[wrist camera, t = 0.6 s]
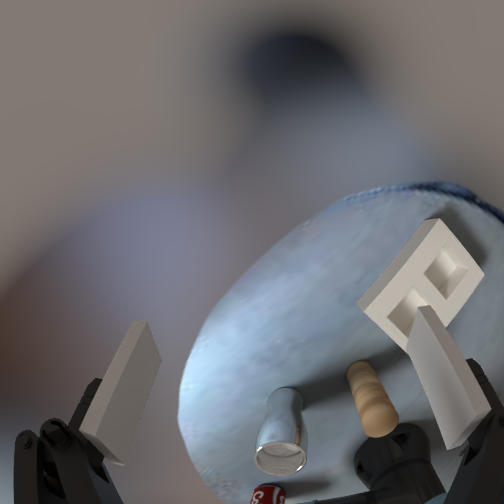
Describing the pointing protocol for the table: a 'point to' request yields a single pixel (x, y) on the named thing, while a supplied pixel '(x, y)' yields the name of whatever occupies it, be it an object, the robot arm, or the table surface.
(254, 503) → the soda can
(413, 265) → the square-hole block
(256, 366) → the table surface
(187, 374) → the table surface
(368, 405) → the oak peg
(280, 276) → the table surface
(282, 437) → the beer glass
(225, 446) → the table surface
